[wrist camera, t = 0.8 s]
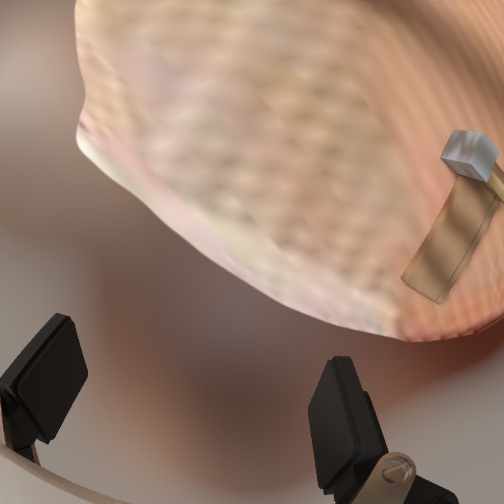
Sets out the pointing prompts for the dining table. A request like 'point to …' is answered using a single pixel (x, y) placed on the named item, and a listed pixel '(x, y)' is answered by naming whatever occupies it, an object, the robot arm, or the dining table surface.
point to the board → (453, 237)
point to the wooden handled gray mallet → (474, 158)
